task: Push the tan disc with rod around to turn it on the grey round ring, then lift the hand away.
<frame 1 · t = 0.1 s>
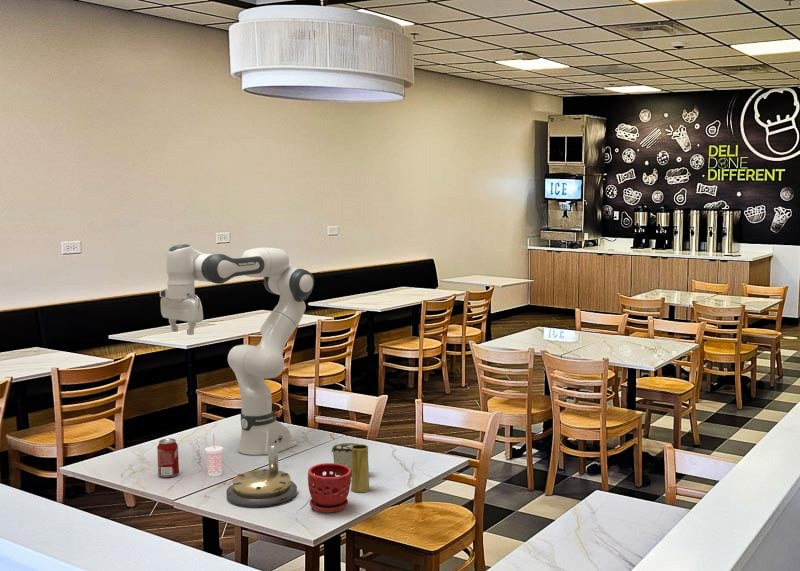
hand: (182, 333, 283), 48 cm above the table, fingers open, 8 cm apart
beverage cup: (214, 474, 283), on the table
vase: (360, 490, 267), on the table
tan disc with rod: (261, 469, 262), point 8 cm above the table, hinge at 0.0°
food container: (351, 474, 283), on the table
grey round ring: (261, 495, 263), on the table
soda can: (168, 475, 282), on the table
plant pot: (330, 508, 252), on the table
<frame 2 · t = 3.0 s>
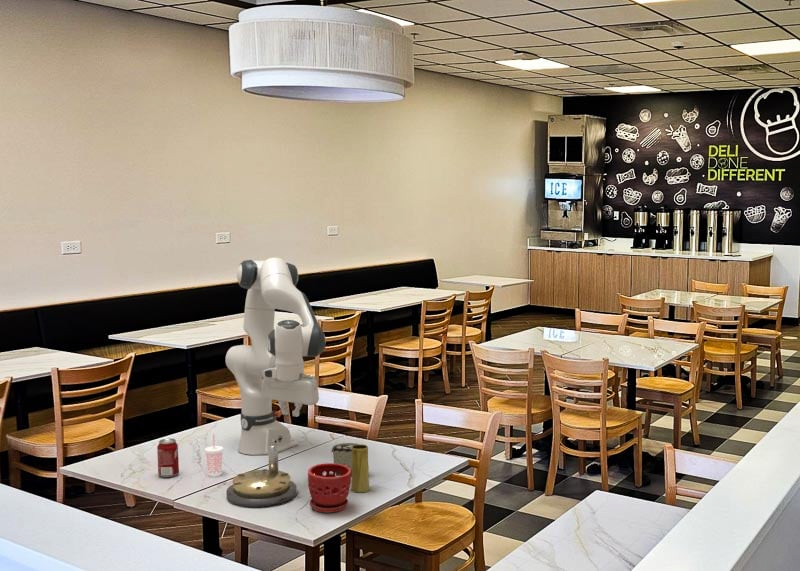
hand: (290, 415, 263), 25 cm above the table, fingers open, 3 cm apart
nothing on the table moved.
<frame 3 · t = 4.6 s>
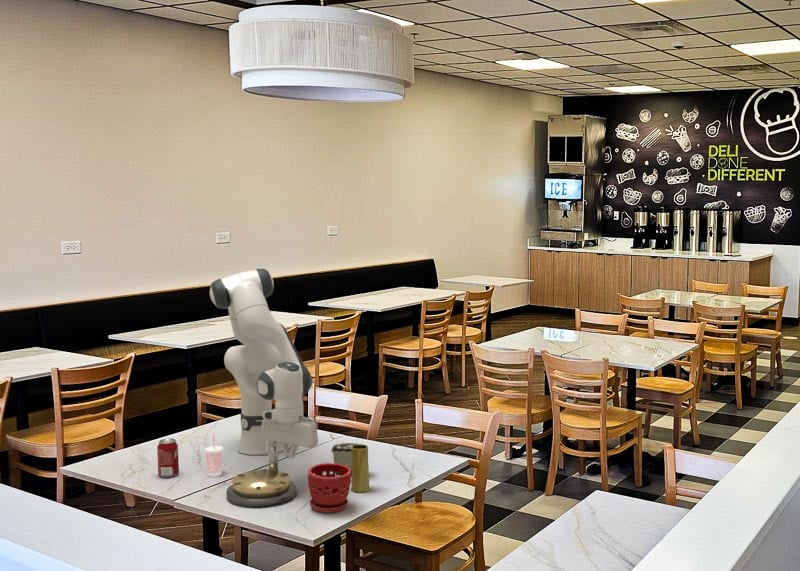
hand: (290, 456, 264), 12 cm above the table, fingers closed
nothing on the table moved.
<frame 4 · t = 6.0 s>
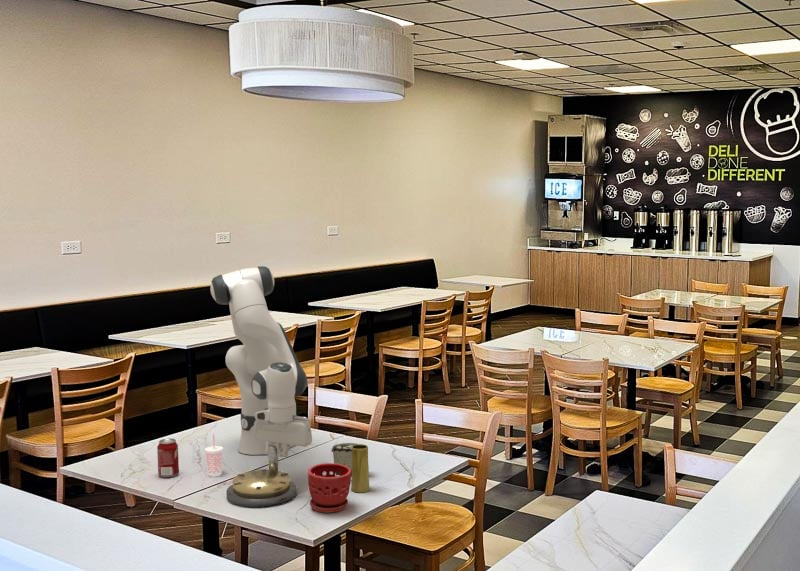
hand: (283, 456, 267), 11 cm above the table, fingers closed
tan disc with rod: (261, 469, 262), point 8 cm above the table, hinge at 0.4°, touching gripper
everything else where it was.
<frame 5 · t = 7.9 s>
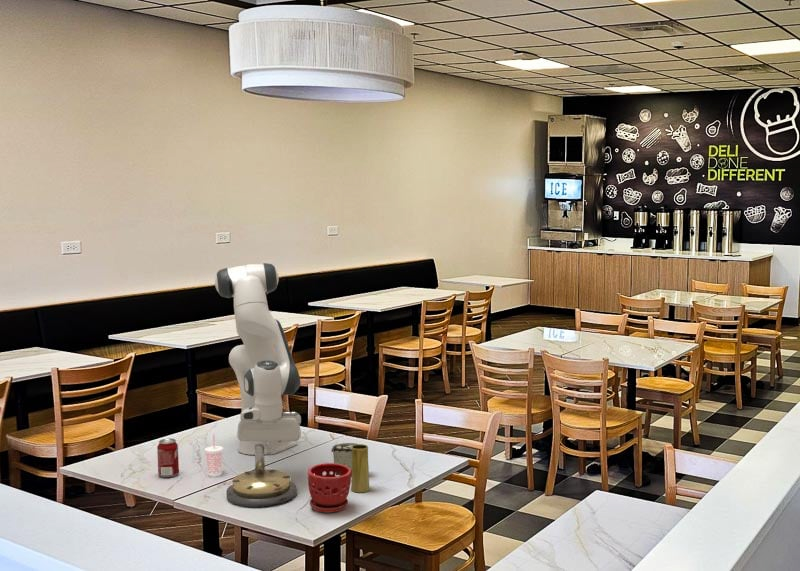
hand: (269, 453, 269), 11 cm above the table, fingers closed
tan disc with rod: (261, 469, 262), point 8 cm above the table, hinge at 40.8°, touching gripper
everything else where it was.
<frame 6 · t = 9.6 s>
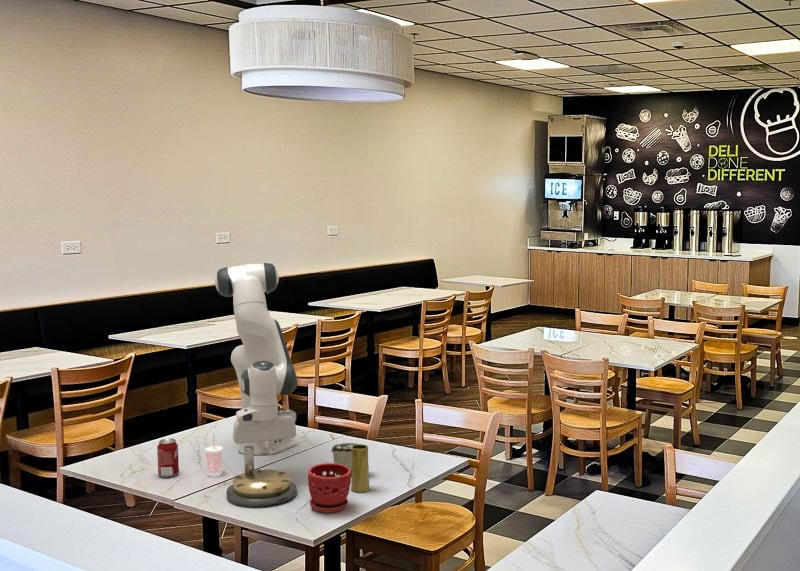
hand: (265, 453, 269), 11 cm above the table, fingers closed
tan disc with rod: (261, 469, 262), point 8 cm above the table, hinge at 72.8°
everything else where it was.
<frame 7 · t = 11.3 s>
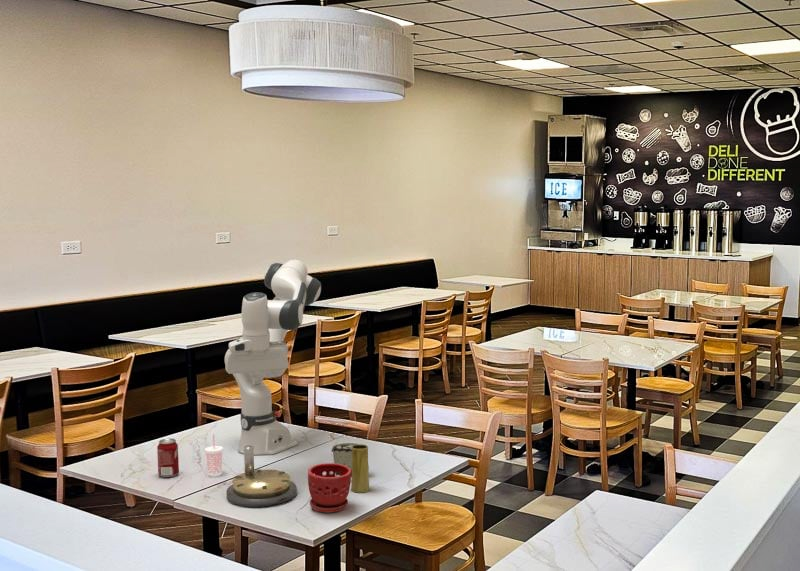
hand: (257, 384, 273), 33 cm above the table, fingers closed
nothing on the table moved.
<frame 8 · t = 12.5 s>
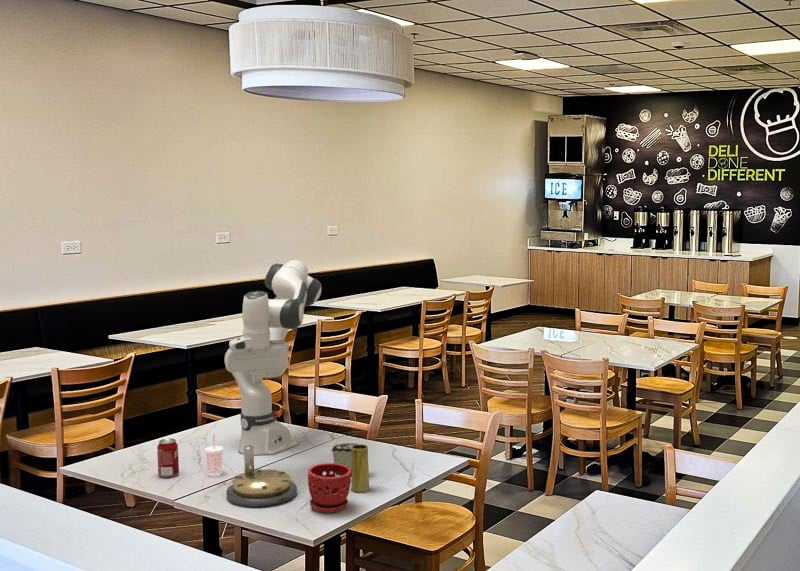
hand: (257, 383, 273), 33 cm above the table, fingers closed
nothing on the table moved.
at the end: tan disc with rod at +73° (first picture: +0°) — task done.
